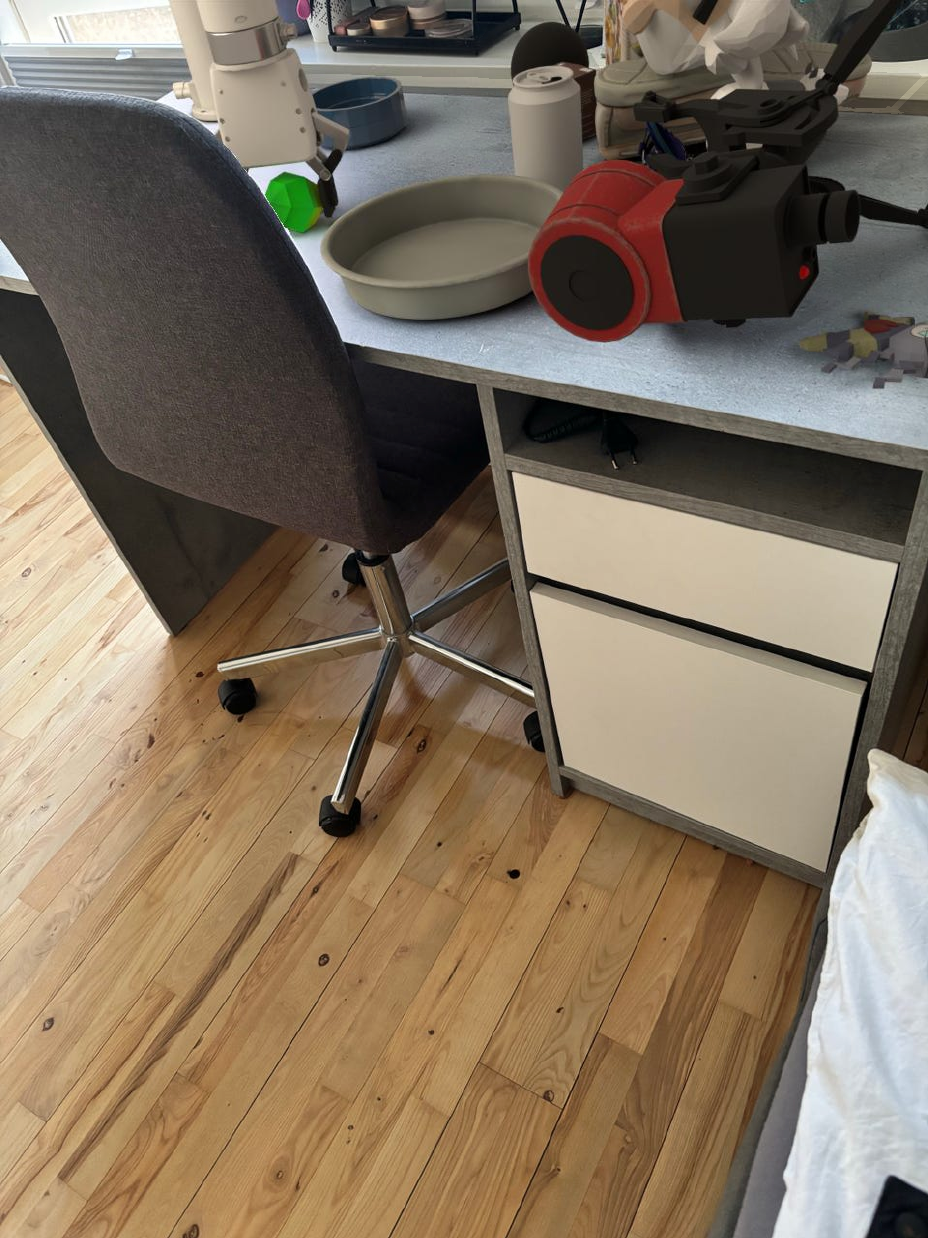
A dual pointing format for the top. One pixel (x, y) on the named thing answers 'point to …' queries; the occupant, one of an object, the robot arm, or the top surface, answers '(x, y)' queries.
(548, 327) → the top surface
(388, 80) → the bowl
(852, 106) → the top surface
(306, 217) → the apple
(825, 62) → the loafer
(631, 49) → the decorative jar
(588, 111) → the box
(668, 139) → the spaceship
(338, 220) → the cake pan
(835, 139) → the top surface
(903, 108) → the top surface
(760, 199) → the camera
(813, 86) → the giant panda
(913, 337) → the toy
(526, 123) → the can
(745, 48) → the toy
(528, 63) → the decorative ball
